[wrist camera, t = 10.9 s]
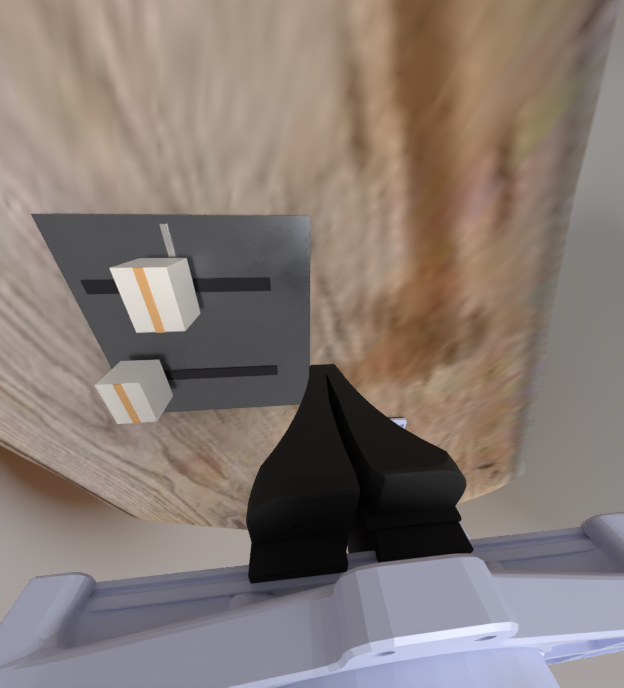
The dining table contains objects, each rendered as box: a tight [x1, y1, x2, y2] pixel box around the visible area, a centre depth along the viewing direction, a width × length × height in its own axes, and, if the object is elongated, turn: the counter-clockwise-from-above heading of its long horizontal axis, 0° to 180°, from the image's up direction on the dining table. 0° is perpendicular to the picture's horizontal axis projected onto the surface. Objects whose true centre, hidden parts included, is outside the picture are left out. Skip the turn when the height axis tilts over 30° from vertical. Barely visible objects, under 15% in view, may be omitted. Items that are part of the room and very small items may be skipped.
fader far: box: [95, 360, 173, 424], centre depth 19 cm, size 4×3×3 cm
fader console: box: [31, 214, 310, 412], centre depth 20 cm, size 17×17×2 cm
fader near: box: [109, 258, 200, 333], centre depth 15 cm, size 4×3×3 cm
